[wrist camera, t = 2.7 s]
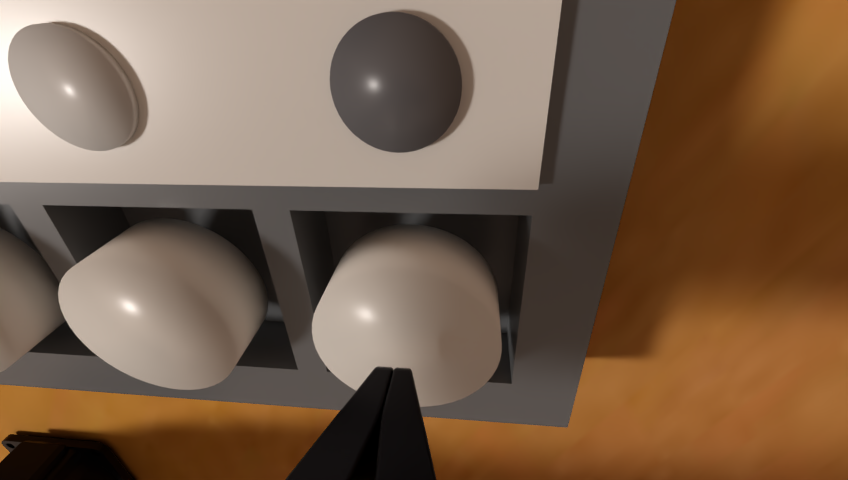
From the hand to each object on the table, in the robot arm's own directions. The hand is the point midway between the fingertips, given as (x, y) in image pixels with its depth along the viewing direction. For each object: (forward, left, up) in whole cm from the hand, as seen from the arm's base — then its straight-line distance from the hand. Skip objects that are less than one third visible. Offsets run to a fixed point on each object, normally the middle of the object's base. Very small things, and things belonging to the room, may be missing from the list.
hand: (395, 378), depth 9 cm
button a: (0, 0, -3) cm, 3 cm away
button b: (0, +7, -3) cm, 8 cm away
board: (+2, +7, -6) cm, 9 cm away
